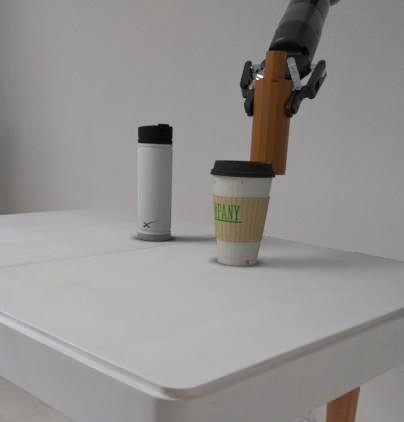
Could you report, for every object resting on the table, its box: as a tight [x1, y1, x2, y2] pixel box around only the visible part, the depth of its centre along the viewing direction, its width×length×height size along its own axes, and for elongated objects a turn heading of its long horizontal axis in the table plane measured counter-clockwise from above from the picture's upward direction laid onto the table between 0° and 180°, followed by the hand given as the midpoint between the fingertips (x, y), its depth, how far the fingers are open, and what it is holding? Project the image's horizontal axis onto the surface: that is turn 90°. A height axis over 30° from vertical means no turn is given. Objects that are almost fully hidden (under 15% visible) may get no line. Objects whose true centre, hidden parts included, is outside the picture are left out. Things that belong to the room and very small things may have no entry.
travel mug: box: [137, 123, 174, 242], centre depth 103 cm, size 6×7×20 cm
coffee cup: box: [209, 159, 276, 267], centre depth 87 cm, size 10×10×15 cm
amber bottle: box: [249, 51, 294, 176], centre depth 91 cm, size 6×6×18 cm
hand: (268, 112), depth 89 cm, fingers closed on amber bottle, 6 cm apart
